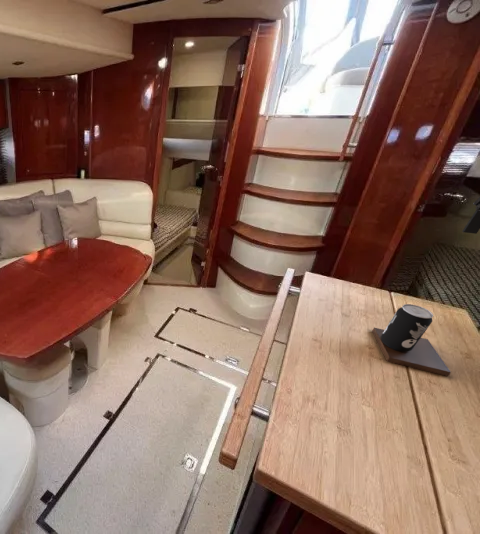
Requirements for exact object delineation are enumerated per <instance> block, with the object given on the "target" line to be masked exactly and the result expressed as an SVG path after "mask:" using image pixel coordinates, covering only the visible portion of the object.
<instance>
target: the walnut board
mask: <svg viewBox="0 0 480 534" xmlns="http://www.w3.org/2000/svg"><path fill="white" fill-rule="evenodd" d="M384 331H385V329H382V328H378V327H373V329H372V330H371V333H372V334H373V337H374V338H375V340H376V342H377V345H378V346H379V348H380V350H381V352H382V354H383V356H384V358H385V360H386V361H387V363H393V364H396V365H401V366H405V367H408V368H413V369H415V370H416V369H417V370H421V371H424V372H429V373H433V374H437V375H440V376H441V375H442V376H445V377H448V376H450V374H451V373H452V371H451V370H450V369H449V367H448V366H447V364H446V363H445V361H444V360H443V359H442V357H441V356H440V354H439V353H438V352H437V350H436V348H435V347H434V346H433V344H432V343H431V341H430V340H429V339H428V338H423V337H421V338H420V339H419V341H418V342H417V344H416V345H415V346H414V348H413V349H412V350H411V351H406V352H401V351H397V350H394V349H391V348H389V347H388V346H386V345H385V344H384V343H383V342H382V340H381V335H382V334H383V332H384Z"/></svg>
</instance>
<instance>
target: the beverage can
mask: <svg viewBox="0 0 480 534" xmlns="http://www.w3.org/2000/svg"><path fill="white" fill-rule="evenodd" d="M433 317H434V314H433V312H431V311H430V310H429V309H428V308H425V307H423V306H420V305H417V304H413V303H406V304H405V303H404V304H402V306H401V307H399V308H397V310H396V312H395V313H394V314H393V316H392V318H391V319H390V321H389V322H388V324H387V325H386V327H385V328H384V330H385V331H384V332H383V334H382V335H381V340H382V342H383V343H384V344H385V345H386V346H388V347H389V348H391V349H394V350H397V351H401V352H406V351H411V350H412V349H413V348H414V346H415V345H416V344H417V342H418V341H419V339H420V338H423V335H424V334H425V333H426V331H427V330H428V328H429V327H430V326H431V324H432V323H433Z"/></svg>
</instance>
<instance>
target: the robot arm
mask: <svg viewBox="0 0 480 534" xmlns="http://www.w3.org/2000/svg"><path fill="white" fill-rule="evenodd" d="M472 205H473V206H475V211H474V212H473V214H472V215H471V217H470V219H469V220H468V222H467V223H466V225H465V226H464V228H463V229H462V231H461V232H462V233H467V234H474V235H476V234H478V233H479V231H480V196H479V197H478V198H477V199H476V200H474V202H473V203H472Z"/></svg>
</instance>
